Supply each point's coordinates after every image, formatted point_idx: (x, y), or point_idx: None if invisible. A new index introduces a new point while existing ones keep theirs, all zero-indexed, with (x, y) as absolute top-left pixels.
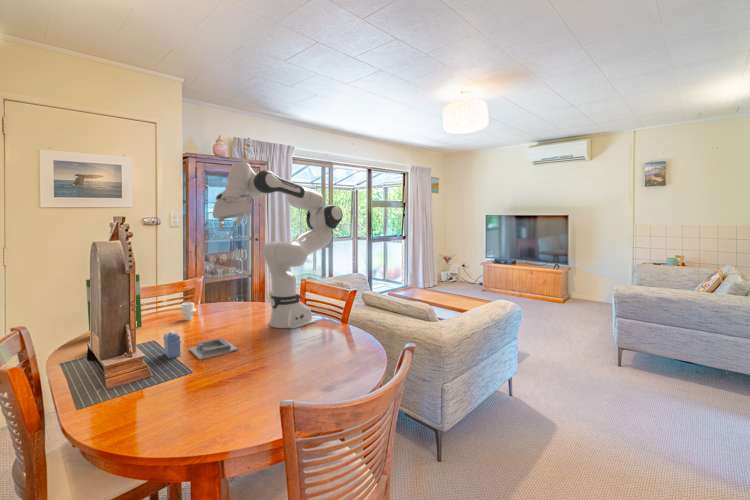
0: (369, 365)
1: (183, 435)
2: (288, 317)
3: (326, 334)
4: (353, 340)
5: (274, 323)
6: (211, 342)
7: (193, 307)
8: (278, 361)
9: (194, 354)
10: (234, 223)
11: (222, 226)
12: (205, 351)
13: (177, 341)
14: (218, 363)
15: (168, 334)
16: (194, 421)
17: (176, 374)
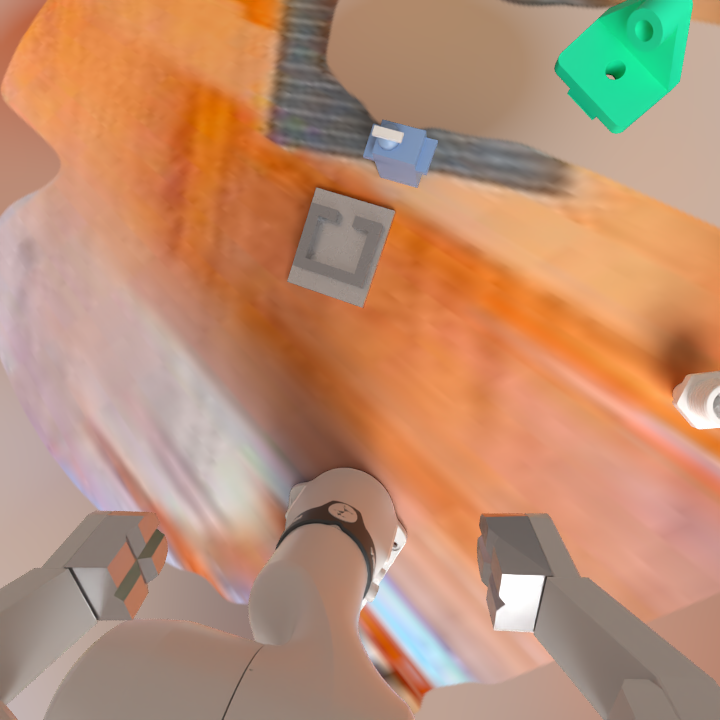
0: (25, 373)
1: (91, 9)
2: (297, 498)
3: (194, 489)
4: (120, 482)
5: (343, 474)
6: (360, 256)
7: (698, 414)
8: (169, 289)
9: (351, 198)
10: (129, 526)
11: (488, 549)
12: (312, 202)
13: (369, 148)
14: (263, 204)
15: (392, 125)
16: (109, 40)
17: (287, 112)
